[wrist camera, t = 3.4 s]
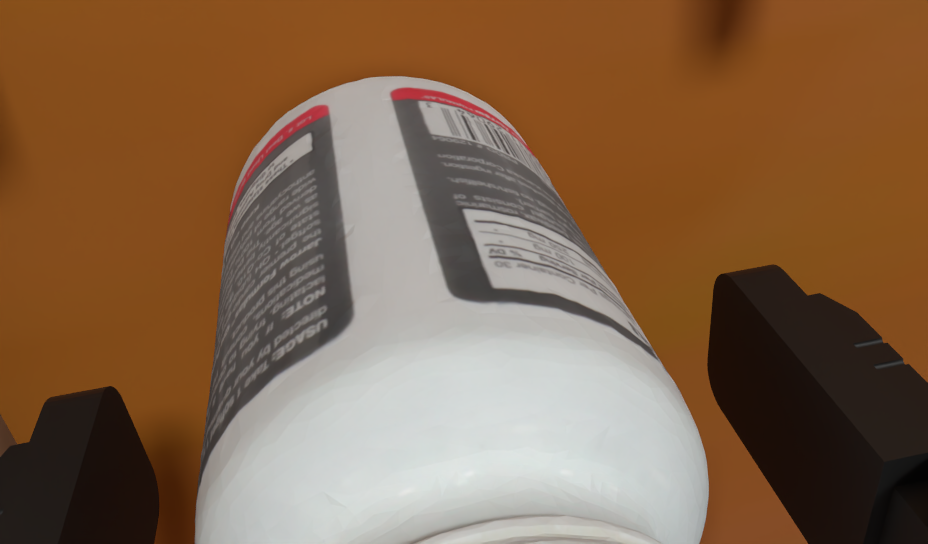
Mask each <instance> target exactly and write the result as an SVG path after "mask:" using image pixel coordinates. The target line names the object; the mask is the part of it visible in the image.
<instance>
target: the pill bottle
mask: <svg viewBox="0 0 928 544" xmlns="http://www.w3.org/2000/svg"><path fill="white" fill-rule="evenodd" d="M708 497H709V481H708V471H707V461H706V456H705V451H704V448H703V445H702V442H701V438H700V435H699V432H698V429H697V427H696V425H695V422H694V420H693V418H692V416H691V414H690V411H689V409H688V407H687V405H686V403H685V401H684V399H683V397H682V395H681V393H680V391H679V389H678V387H677V386H676V384H675V383H674V381H673V379H672V378H671V377H670V375H669V374H668V372H667V371H666V369H665V368H664V366H663V365H662V363H661V361H660V360H659V358H658V357H657V355H656V353H655V352H654V350H653V348H652V347H651V345H650V343H649V342H648V340H647V338H646V337H645V335H644V333H643V332H642V330H641V328H640V327H639V325H638V324H637V322H636V321H635V319H634V318H633V316H632V314H631V313H630V311H629V309H628V308H627V306H626V305H625V303H624V301H623V300H622V298H621V296H620V294H619V293H618V291H617V289H616V287H615V285H614V284H613V283H612V281H611V280H610V279H609V277H608V276H607V274H606V272H605V271H604V269H603V267H602V266H601V264H600V262H599V261H598V259H597V258H596V256H595V254H594V253H593V251H592V249H591V248H590V246H589V244H588V243H587V241H586V239H585V238H584V236H583V234H582V232H581V231H580V229H579V227H578V226H577V224H576V223H575V221H574V219H573V218H572V216H571V215H570V213H569V211H568V210H567V208H566V206H565V205H564V203H563V201H562V200H561V198H560V196H559V195H558V193H557V191H556V190H555V188H554V186H553V185H552V183H551V181H550V179H549V177H548V175H547V174H546V172H545V171H544V169H543V168H542V167H541V165H540V163H539V161H538V160H537V159H536V158H535V156H534V154H533V153H532V151H531V150H530V149H529V147H528V146H527V144H526V143H525V141H524V140H523V138H522V137H521V136H520V135H519V133H518V132H517V131H516V130H515V128H514V127H513V126H512V125H511V124H510V123H509V122H508V121H507V120H506V119H505V118H504V117H503V116H502V115H501V114H500V113H499V112H497V111H496V110H495V109H494V108H492V107H491V106H490V105H488V104H487V103H485V102H484V101H482V100H480V99H478V98H476V97H474V96H472V95H471V94H469V93H467V92H465V91H463V90H460V89H458V88H455V87H453V86H450V85H447V84H443V83H440V82H436V81H432V80H427V79H422V78H412V77H404V76H390V77H372V78H366V79H362V80H359V81H355V82H350V83H346V84H343V85H340V86H337V87H334V88H331V89H329V90H327V91H325V92H323V93H320V94H318V95H316V96H314V97H312V98H310V99H309V100H307V101H305V102H303V103H301V104H300V105H298V106H297V107H295V108H294V109H292V110H290V111H289V112H287V113H286V114H285V115H284V116H283V117H281V118H280V119H279V120H278V121H277V122H276V123H275V124H274V125H273V126H272V127H271V129H270V130H269V131H268V132H267V133H266V135H265V136H264V137H263V138H262V139H261V141H260V142H259V143H258V144H257V145H256V147H255V148H254V149H253V151H252V153H251V154H250V156H249V158H248V160H247V162H246V164H245V166H244V167H243V170H242V172H241V174H240V177H239V179H238V181H237V184H236V187H235V191H234V195H233V199H232V203H231V209H230V215H229V222H228V228H227V234H226V240H225V247H224V259H223V269H222V279H221V289H220V298H219V308H218V321H217V331H216V342H215V352H214V362H213V368H212V376H211V386H210V395H209V402H208V408H207V417H206V425H205V434H204V442H203V449H202V454H201V468H200V474H199V480H198V491H197V501H196V515H195V544H699V542H700V540H701V537H702V532H703V528H704V524H705V520H706V513H707V505H708Z"/></svg>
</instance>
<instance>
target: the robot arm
mask: <svg viewBox="0 0 928 544" xmlns="http://www.w3.org/2000/svg"><path fill="white" fill-rule="evenodd" d="M708 375H709V380H710V385H711V388H712V391H713V394H714V397H715V399H716V401H717V403H718V405H719V407H720V409H721V410H722V412H723V413H724V415H725V416H726V418H727V419H728V421H729V422H730V424H731V425H732V427H733V429H734V430H735V432H736V433H737V435H738V436H739V438H740V439H741V441H742V442H743V444H744V445H745V447H746V449H747V450H748V452H749V453H750V455H751V456H752V458H753V459H754V461H755V462H756V464H757V465H758V467H759V468H760V470H761V472H762V473H763V475H764V476H765V478H766V479H767V481H768V482H769V484H770V485H771V487H772V488H773V490H774V492H775V493H776V495H777V496H778V498H779V499H780V501H781V502H782V504H783V505H784V507H785V508H786V510H787V512H788V513H789V515H790V516H791V518H792V519H793V521H794V522H795V524H796V525H797V527H798V528H799V530H800V531H801V533H802V535H803V536H804V538H805V539H806V541H807V542H808V544H928V383H927V382H926V381H925V380H924V379H923V378H922V377H921V376H920V375H919V374H918V373H917V372H916V371H915V370H914V369H913V368H912V367H911V366H910V365H909V364H907V365H905V364H904V362H903V358H902V357H901V356H900V355H899V354H898V353H897V352H896V351H895V350H894V349H893V348H892V347H891V346H890V345H889V344H888V343H883V341H882V337H881V336H880V335H879V334H878V333H877V332H876V331H875V330H874V329H873V328H872V327H871V326H870V325H869V324H868V323H867V322H866V321H865V320H864V319H863V318H862V317H861V316H860V315H859V314H858V313H857V312H855V311H853V310H851V309H849V308H847V307H845V306H843V305H842V304H840V303H838V302H836V301H834V300H832V299H830V298H828V297H826V296H824V295H823V294H821V293H819V294H814V295H809V296H807V295H806V294H805V293H804V292H803V290H802V289H801V288H800V287H799V286H798V285H797V284H796V283H795V282H794V281H793V280H792V279H791V278H790V277H789V276H788V275H787V274H786V272H785V271H784V270H783V269H781V268H780V267H779V266H777V265H767V266H762V267H757V268H751V269H746V270H741V271H735V272H730V273H725V274H721V275H719V276H718V277H717V279H716V281H715V284H714V290H713V302H712V314H711V326H710V338H709V349H708ZM158 516H159V494H158V487H157V481H156V477H155V474H154V470H153V468H152V465H151V463H150V461H149V459H148V456H147V454H146V452H145V449H144V447H143V445H142V443H141V440H140V438H139V436H138V433H137V431H136V429H135V427H134V424H133V422H132V420H131V417H130V415H129V413H128V411H127V408H126V406H125V404H124V402H123V399H122V397H121V395H120V394H119V392H118V391H117V390H116V389H115V388H114V387H111V386H109V387H103V388H98V389H92V390H87V391H82V392H76V393H71V394H66V395H60V396H55V397H50V398H49V399H47V401H46V402H45V403H44V406H43V408H42V410H41V413H40V416H39V418H38V421H37V423H36V426H35V429H34V431H33V434H32V436H31V439H30V442H28V443H23V444H18V445H12V446H10V447H9V448H8V449H7V450H6V451H5V452H4V453H3V454H2V456H1V457H0V544H154V540H155V534H156V529H157V523H158Z"/></svg>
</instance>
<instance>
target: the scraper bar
mask: <svg viewBox="0 0 928 544" xmlns="http://www.w3.org/2000/svg"><path fill="white" fill-rule="evenodd" d="M12 445H17V443H16V442H15V440H14V438H13V436H12V434H11V433H10V431H9V429H8V427H7V425H6V424H5V422H4V420H3V418H2V417H1V415H0V457H1V456H2V454H3V453H4V452H5V451H6V450H7V449H8V448H9V447H10V446H12Z"/></svg>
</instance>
